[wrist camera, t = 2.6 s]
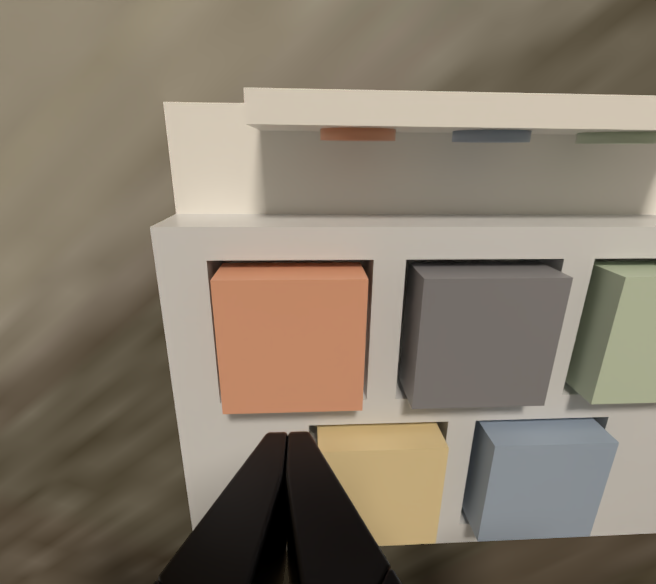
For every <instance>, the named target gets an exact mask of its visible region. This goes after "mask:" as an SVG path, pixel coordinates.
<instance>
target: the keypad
mask: <svg viewBox="0 0 656 584" xmlns="http://www.w3.org/2000/svg"><path fill="white" fill-rule="evenodd" d="M163 104H164V113H165V122H166V130H167V139H168V147H169V156H170V164H171V173H172V182H173V190H174V199H175V207H176V214H175V215H173V216H171V217H169V218H167V219H165V220H163V221H161V222H159V223H157V224H155V225H153V226H151V227H150V231H151V238H152V245H153V252H154V259H155V266H156V274H157V281H158V288H159V295H160V302H161V309H162V316H163V323H164V331H165V338H166V345H167V352H168V359H169V366H170V373H171V380H172V388H173V395H174V402H175V409H176V416H177V423H178V430H179V437H180V445H181V452H182V459H183V466H184V473H185V480H186V487H187V494H188V502H189V509H190V516H191V523H192V530H194V529H195V527H196V526H197V525H198V523H199V522H200V521H201V519H202V518H203V517H204V515H205V514H206V513H207V511H208V510H209V509H210V507H211V506H212V505H213V503H214V502H215V501H216V499H217V498H218V497H219V495H220V494H221V493H222V492H223V490H224V489H225V488H226V486H227V485H228V484H229V482H230V481H231V480H232V478H233V477H234V476H235V474H236V473H237V472H238V470H239V469H240V468H241V466H242V465H243V464H244V462H245V461H246V460H247V458H248V457H249V456H250V454H251V453H252V452H253V450H254V449H255V448H256V446H257V445H258V444H259V442H260V441H261V440H262V438H263V437H264V436H265V435H266V434H267V433H269V432H286V433H287V434H289V433H290V432H296V431H308V432H309V433H310V434H311V436H312V437H313V439H314V441H315V442H316V444H317V425H343V424H378V423H413V422H436V423H437V425H438V427H439V429H440V431H441V433H442V435H443V437H444V439H445V441H446V443H447V445H448V447H449V451H448V459H447V466H446V473H445V480H444V487H443V495H442V502H441V509H440V516H439V523H438V531H437V538H436V543H455V542H476V541H477V539H476V537H475V535H474V532H473V530H472V528H471V526H470V523H469V521H468V519H467V517H466V514H465V512H464V510H463V508H462V503H463V496H464V490H465V484H466V478H467V472H468V466H469V459H470V453H471V447H472V441H473V435H474V429H475V422H476V421H482V420H517V419H552V418H587V417H592V418H593V419H594V420H595V421H596V422H598V423H599V424H600V425H601V426H602V427H603V428H604V429H605V430H606V431H607V432H608V433H609V434H610V435H612V436H613V437H614V438H615V439H616V440H617V441H618V442H619V445H618V448H617V451H616V454H615V457H614V461H613V464H612V467H611V470H610V473H609V477H608V480H607V483H606V486H605V489H604V492H603V496H602V499H601V502H600V505H599V508H598V512H597V515H596V518H595V521H594V524H593V528H592V531H591V534H590V536H605V535H627V534H648V533H656V403H627V404H590V403H589V402H588V401H587V400H585V399H584V398H583V397H582V396H581V395H580V394H579V393H578V392H576V391H575V390H574V389H573V388H572V387H571V386H570V385H569V384H567V383H566V382H565V380H566V376H567V372H568V368H569V364H570V360H571V355H572V351H573V347H574V343H575V339H576V335H577V331H578V327H579V323H580V318H581V314H582V310H583V306H584V302H585V298H586V294H587V290H588V285H589V281H590V277H591V273H592V269H593V265H594V261H656V96H649V95H598V94H547V93H496V92H445V91H394V90H344V89H293V88H244V103H200V102H163ZM519 261H539V262H541V263H543V264H545V265H548V266H550V267H552V268H554V269H556V270H558V271H560V272H562V273H564V274H567V275H569V276H571V277H573V281H572V286H571V290H570V294H569V299H568V303H567V308H566V312H565V316H564V321H563V325H562V330H561V334H560V338H559V343H558V347H557V352H556V356H555V360H554V365H553V369H552V373H551V378H550V382H549V387H548V391H547V395H546V400H545V404H544V406H515V407H477V408H440V409H412V408H411V406H410V404H409V401H408V399H407V396H406V394H405V392H404V389H403V387H402V384H401V382H400V380H399V375H400V363H401V351H402V338H403V326H404V314H405V301H406V289H407V277H408V264H409V262H519ZM330 262H360V263H361V265H362V267H363V269H364V271H365V273H366V275H367V277H368V279H369V280H368V301H367V323H366V344H365V366H364V387H363V408H362V411H328V412H291V413H253V414H223V412H222V401H221V390H220V380H219V369H218V358H217V348H216V337H215V326H214V316H213V305H212V294H211V284H210V280H211V279H212V277H213V276H214V275H215V273H216V272H217V270H218V269H219V268H220V266H221V265H222V263H330Z"/></svg>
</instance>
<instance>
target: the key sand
mask: <svg viewBox="0 0 656 584" xmlns="http://www.w3.org/2000/svg"><path fill="white" fill-rule="evenodd" d="M317 446H318V447H319V449H320V451H321V452H322V454H323V455H324V457H325V459H326V460H327V462H328V464H329V465H330V467H331V469H332V470H333V472H334V474H335V475H336V477H337V478H338V480H339V482H340V483H341V485H342V487H343V488H344V490H345V492H346V493H347V495H348V497H349V498H350V500H351V501H352V503H353V505H354V506H355V508H356V510H357V511H358V513H359V515H360V516H361V518H362V520H363V521H364V523H365V524H366V526H367V528H368V529H369V531H370V533H371V534H372V536H373V538H374V539H375V541H376V543H377V544H378V546H391V545H412V544H434V543H436V538H437V531H438V523H439V516H440V509H441V502H442V495H443V487H444V480H445V473H446V466H447V459H448V451H449V447H448V445H447V443H446V441H445V439H444V437H443V435H442V433H441V431H440V429H439V427H438V425H437V423H436V422H413V423H378V424H343V425H317Z"/></svg>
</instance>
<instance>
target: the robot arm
mask: <svg viewBox="0 0 656 584" xmlns="http://www.w3.org/2000/svg"><path fill="white" fill-rule="evenodd" d="M286 554H287V557H288V573H289V584H402V583H401V581H400V580H399V578H398V577H397V575H396V573H395V572H394V570H393V569H390V564H389V562H388V561H387V559H386V557H385V556H384V554H383V552H382V551H381V549H380V547H379V546H378V544H377V543H376V541H375V539H374V538H373V536H372V534H371V533H370V531H369V529H368V528H367V526H366V524H365V523H364V521H363V520H362V518H361V516H360V515H359V513H358V511H357V510H356V508H355V506H354V505H353V503H352V501H351V500H350V498H349V497H348V495H347V493H346V492H345V490H344V488H343V487H342V485H341V483H340V482H339V480H338V478H337V477H336V475H335V474H334V472H333V470H332V469H331V467H330V465H329V464H328V462H327V460H326V459H325V457H324V455H323V454H322V452H321V451H320V449H319V447H318V446H317V444H316V442H315V441H314V439H313V437H312V436H311V434H310V433H309V432H308V431H296V432H290V433H289V434H287V433H286V432H269V433H267V434H266V435H265V436H264V437H263V438H262V440H261V441H260V442H259V444H258V445H257V446H256V448H255V449H254V450H253V452H252V453H251V454H250V456H249V457H248V458H247V460H246V461H245V462H244V464H243V465H242V466H241V468H240V469H239V470H238V472H237V473H236V474H235V476H234V477H233V478H232V480H231V481H230V482H229V484H228V485H227V486H226V488H225V489H224V490H223V492H222V493H221V494H220V495H219V497H218V498H217V499H216V501H215V502H214V503H213V505H212V506H211V507H210V509H209V510H208V511H207V513H206V514H205V515H204V517H203V518H202V519H201V521H200V522H199V523H198V525H197V526H196V527H195V529H194V530H193V531H192V533H191V534H190V535H189V537H188V538H187V539H186V541H185V542H184V543H183V545H182V546H181V547H180V549H179V550H178V551H177V552H176V554H175V555H174V556H173V558H172V559H171V560H170V562H169V563H168V564H167V566H166V567H165V568H164V570H163V571H162V572H161V574H160V575H159V577H158V580H159V581H154V583H153V584H283V580H284V572H285V564H286Z"/></svg>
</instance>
